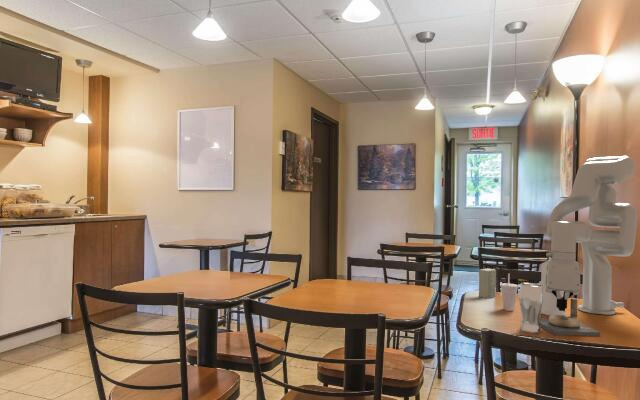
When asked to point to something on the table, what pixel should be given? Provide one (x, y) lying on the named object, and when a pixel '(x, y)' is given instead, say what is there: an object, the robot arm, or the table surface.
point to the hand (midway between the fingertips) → (561, 310)
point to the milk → (549, 295)
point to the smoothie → (509, 294)
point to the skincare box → (487, 283)
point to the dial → (567, 317)
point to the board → (568, 329)
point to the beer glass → (531, 306)
